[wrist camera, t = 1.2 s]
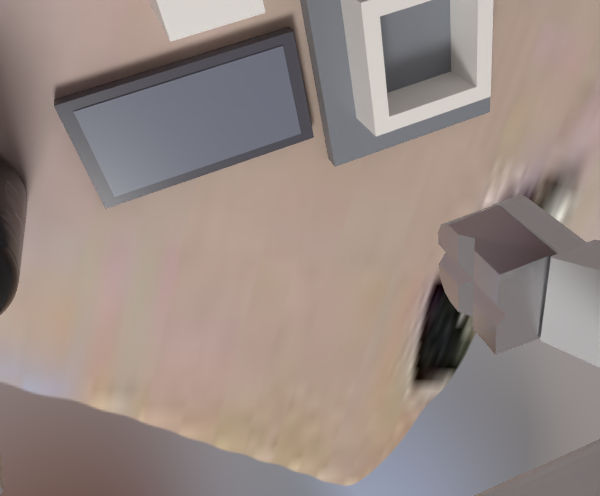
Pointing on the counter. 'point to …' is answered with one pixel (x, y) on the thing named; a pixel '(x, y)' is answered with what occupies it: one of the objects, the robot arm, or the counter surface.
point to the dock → (396, 69)
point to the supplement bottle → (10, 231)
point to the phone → (189, 117)
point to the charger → (201, 14)
